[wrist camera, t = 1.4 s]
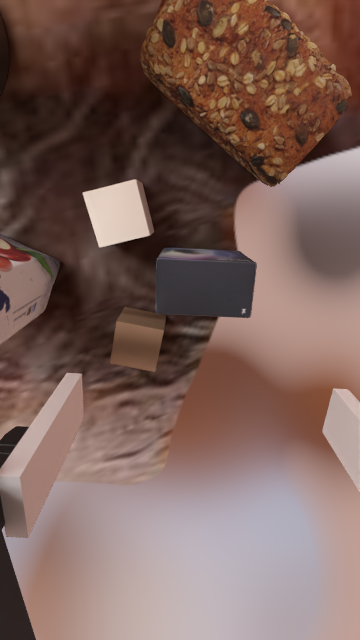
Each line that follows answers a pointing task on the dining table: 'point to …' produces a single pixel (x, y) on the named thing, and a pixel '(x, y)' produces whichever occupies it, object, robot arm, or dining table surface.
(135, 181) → the cream block
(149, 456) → the dining table surface
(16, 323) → the juice carton
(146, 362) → the walnut block
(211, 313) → the small box
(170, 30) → the bread
